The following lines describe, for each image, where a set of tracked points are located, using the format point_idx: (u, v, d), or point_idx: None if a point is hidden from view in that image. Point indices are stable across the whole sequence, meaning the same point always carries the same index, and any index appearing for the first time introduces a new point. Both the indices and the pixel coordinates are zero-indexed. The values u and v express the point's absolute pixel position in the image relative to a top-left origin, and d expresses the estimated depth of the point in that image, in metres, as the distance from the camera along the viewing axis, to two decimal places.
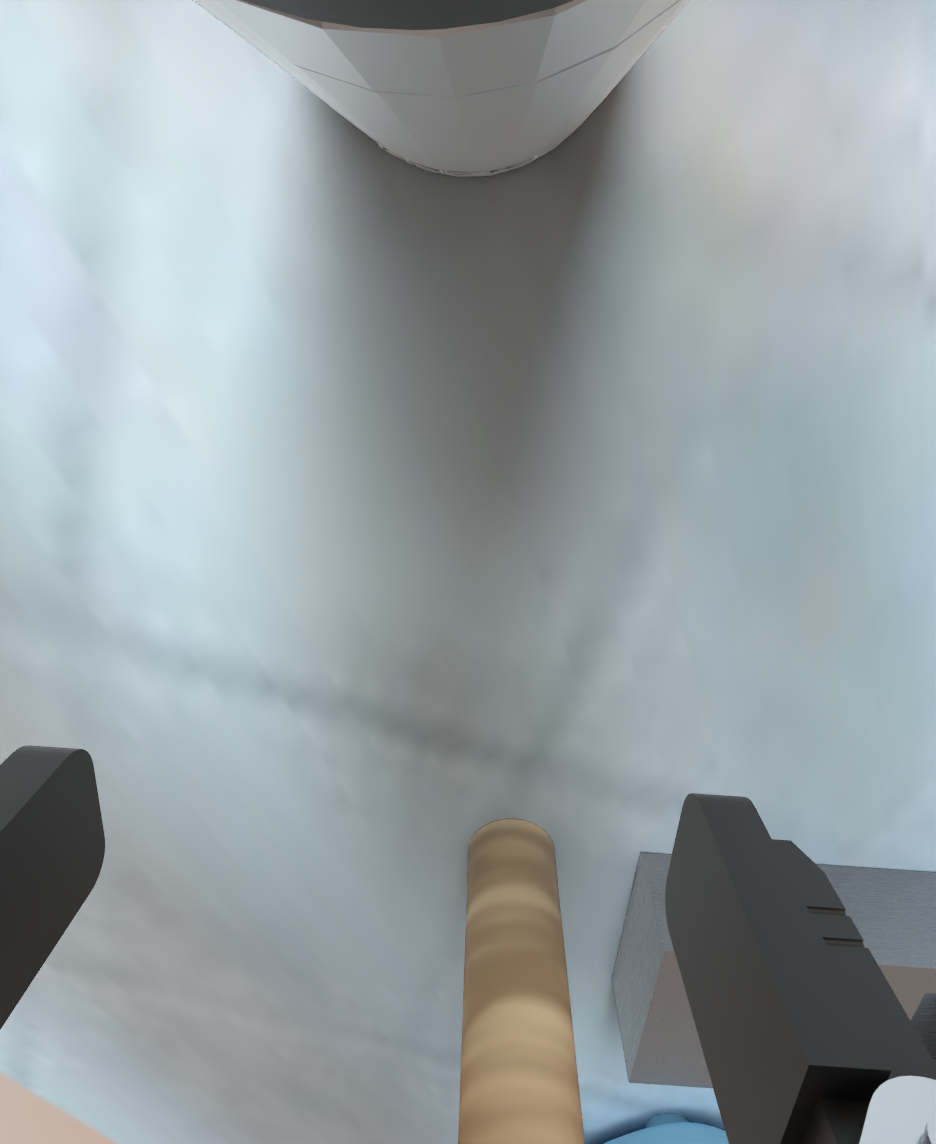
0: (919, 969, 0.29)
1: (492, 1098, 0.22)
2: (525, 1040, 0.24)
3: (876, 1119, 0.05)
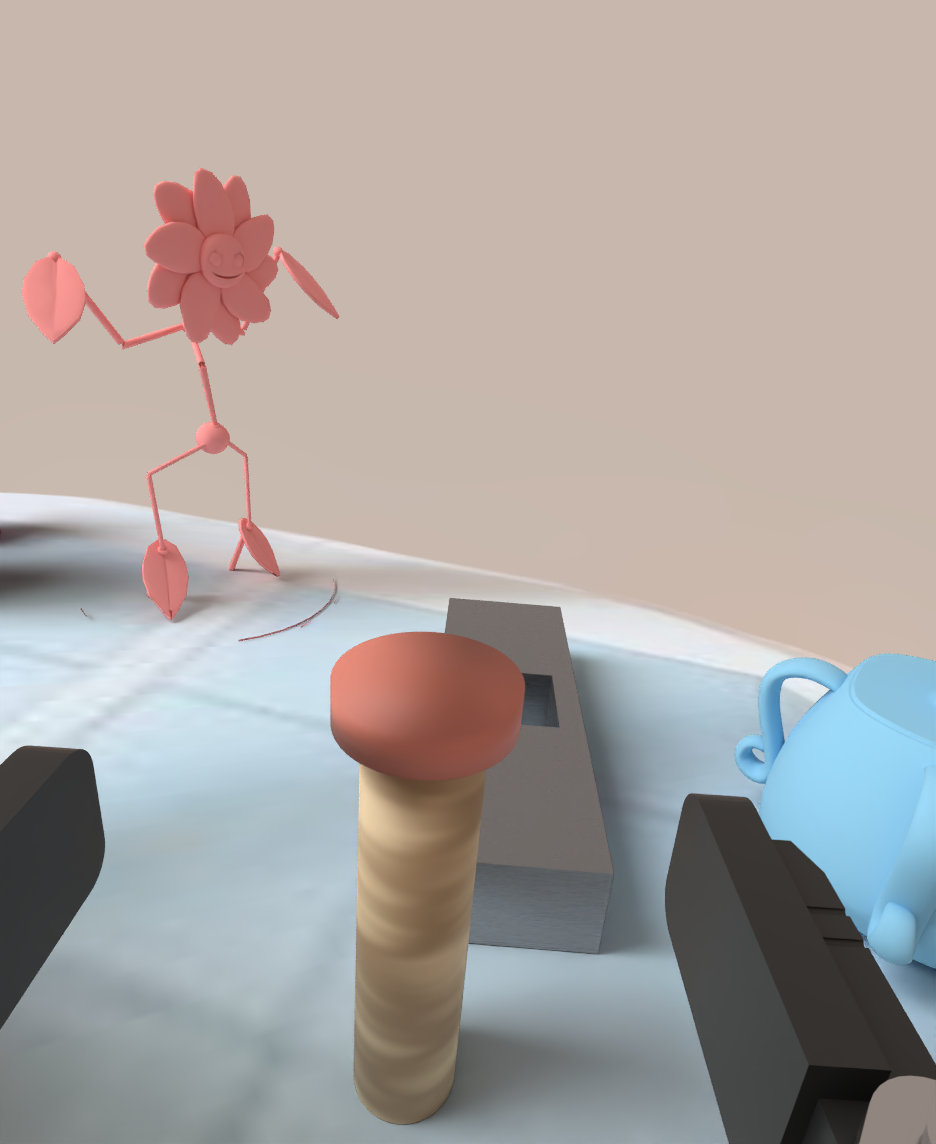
0: None
1: (362, 864, 0.23)
2: None
3: (875, 1119, 0.05)
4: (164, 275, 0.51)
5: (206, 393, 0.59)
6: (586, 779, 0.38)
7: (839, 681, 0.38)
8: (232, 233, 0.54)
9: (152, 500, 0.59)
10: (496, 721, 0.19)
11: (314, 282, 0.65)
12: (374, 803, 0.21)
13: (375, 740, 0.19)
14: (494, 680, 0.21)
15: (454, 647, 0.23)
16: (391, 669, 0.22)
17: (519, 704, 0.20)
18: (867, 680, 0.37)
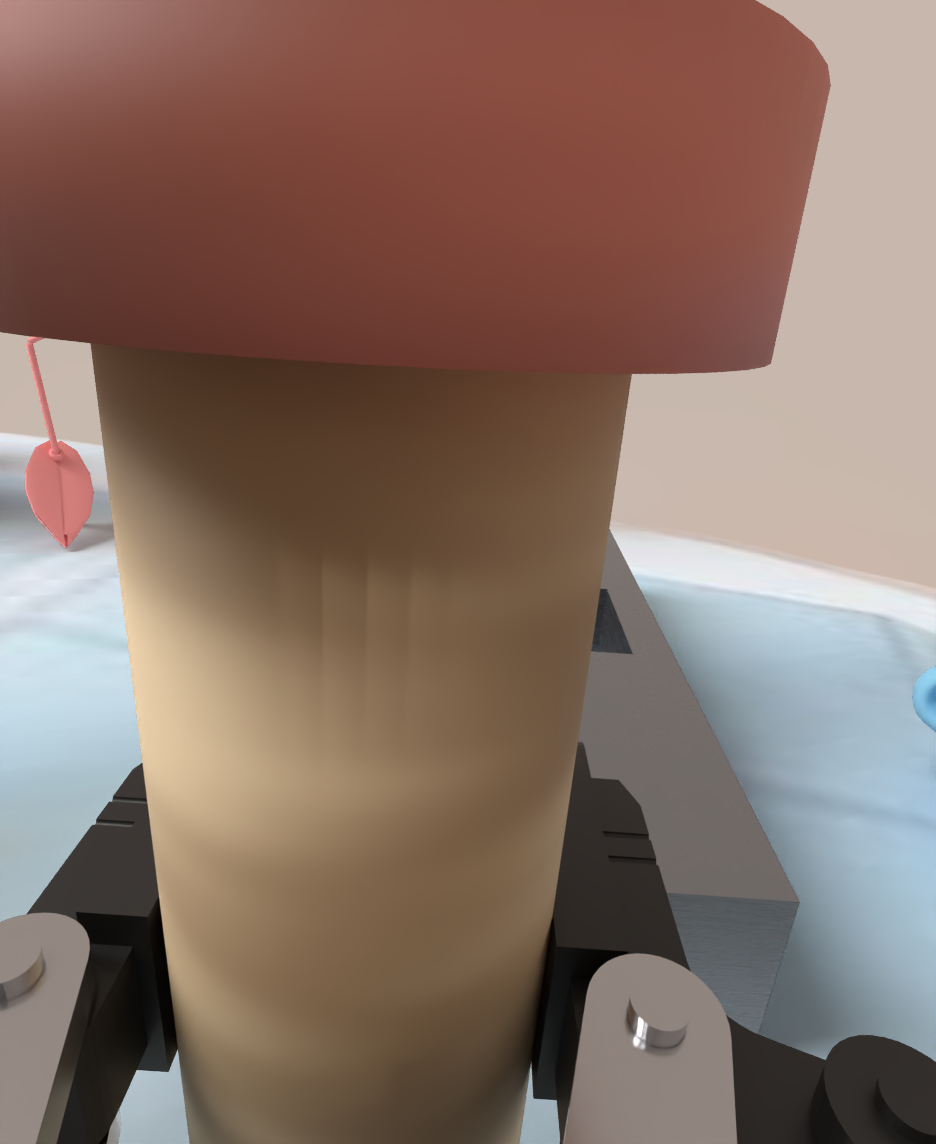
0: None
1: (161, 904, 0.06)
2: None
3: (596, 984, 0.06)
4: None
5: None
6: (696, 729, 0.21)
7: None
8: None
9: (36, 380, 0.43)
10: (778, 17, 0.03)
11: None
12: (147, 648, 0.05)
13: None
14: None
15: None
16: None
17: None
18: None
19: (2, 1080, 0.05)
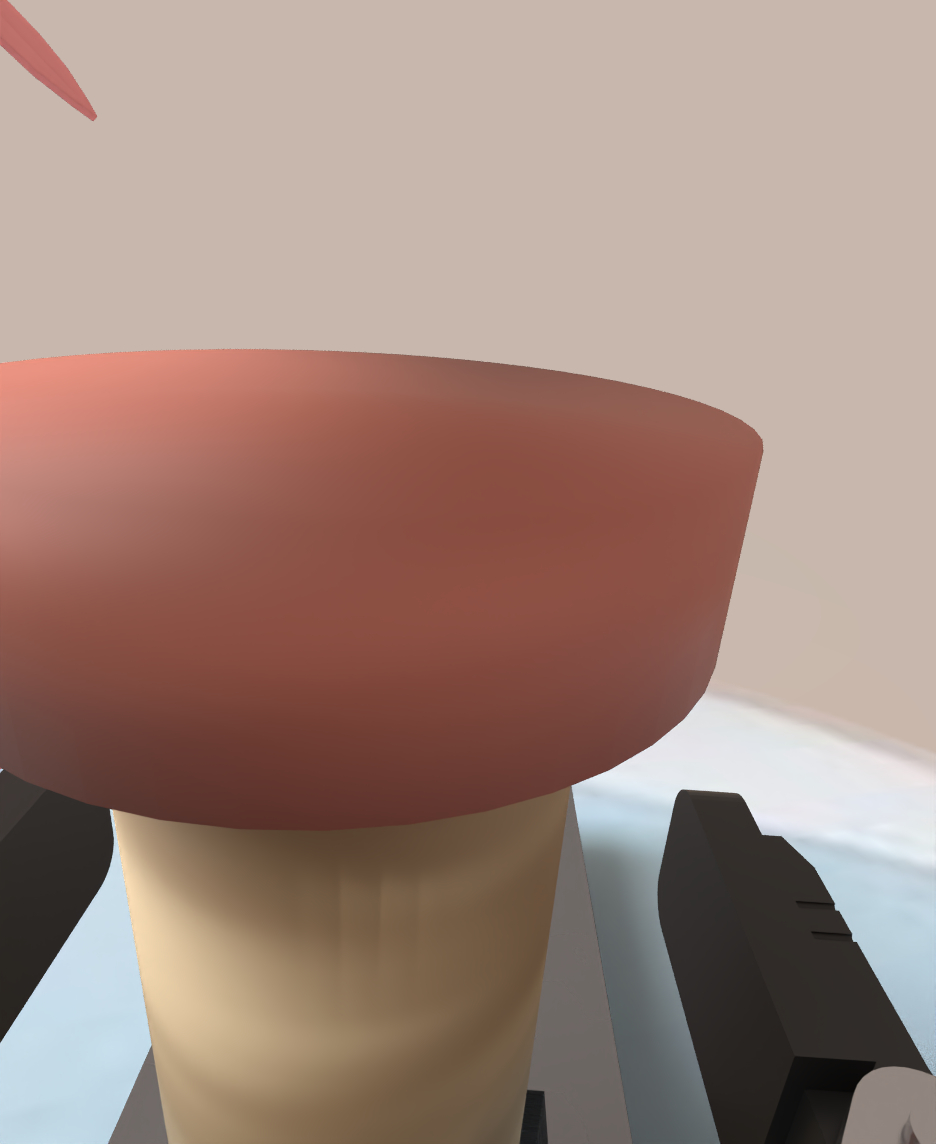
0: None
1: None
2: None
3: (860, 1108, 0.05)
4: None
5: None
6: None
7: None
8: None
9: None
10: (696, 485, 0.03)
11: (38, 40, 0.31)
12: (142, 905, 0.05)
13: None
14: (612, 408, 0.05)
15: (452, 368, 0.07)
16: (212, 378, 0.06)
17: None
18: None
19: None
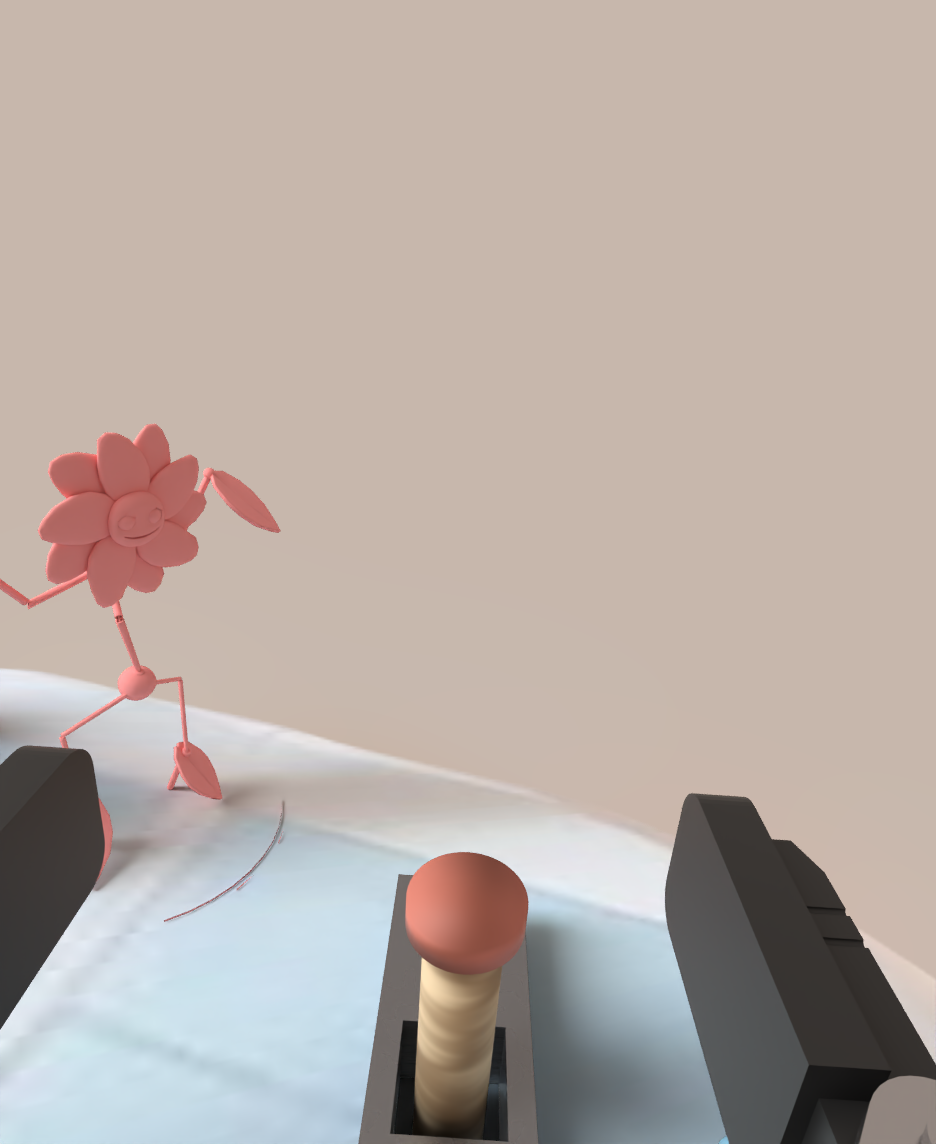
0: None
1: (424, 1011, 0.35)
2: None
3: (875, 1119, 0.05)
4: (65, 550, 0.45)
5: (126, 644, 0.53)
6: None
7: None
8: (147, 486, 0.48)
9: None
10: (511, 936, 0.32)
11: (252, 496, 0.59)
12: (433, 978, 0.34)
13: (438, 951, 0.32)
14: (508, 898, 0.34)
15: (481, 867, 0.36)
16: (443, 891, 0.34)
17: (525, 919, 0.33)
18: None
19: None
